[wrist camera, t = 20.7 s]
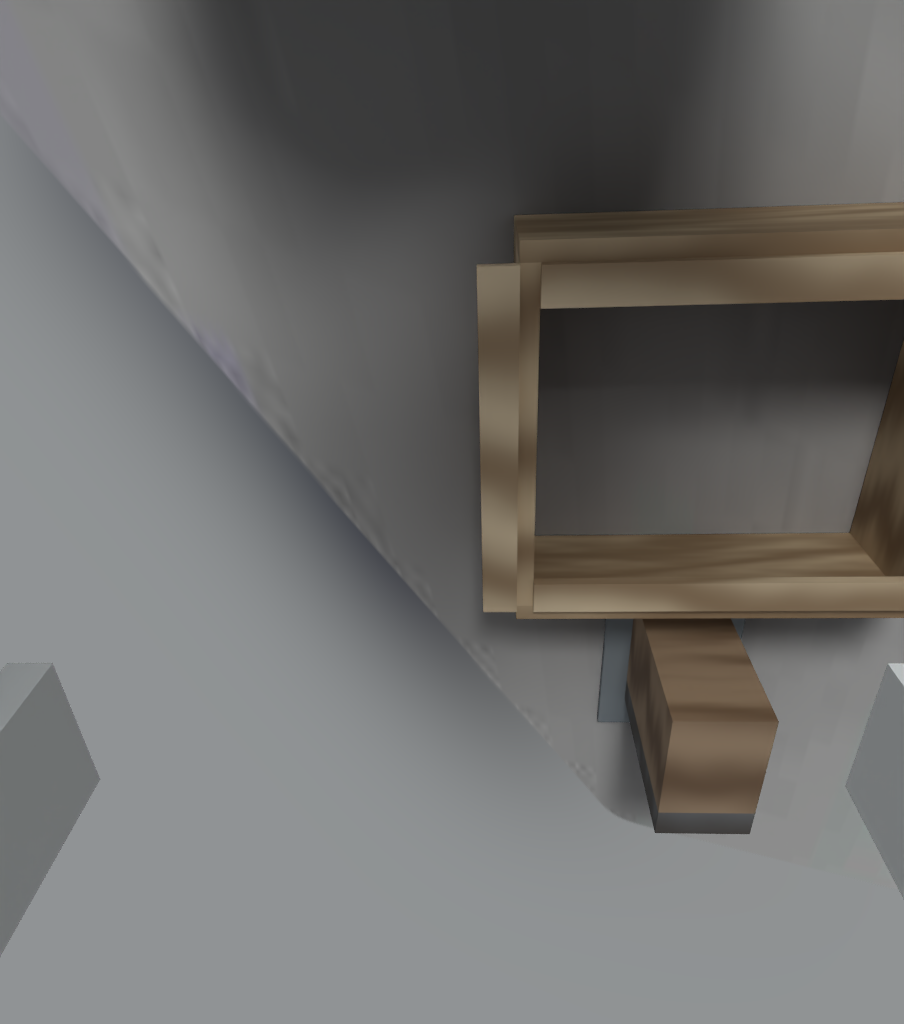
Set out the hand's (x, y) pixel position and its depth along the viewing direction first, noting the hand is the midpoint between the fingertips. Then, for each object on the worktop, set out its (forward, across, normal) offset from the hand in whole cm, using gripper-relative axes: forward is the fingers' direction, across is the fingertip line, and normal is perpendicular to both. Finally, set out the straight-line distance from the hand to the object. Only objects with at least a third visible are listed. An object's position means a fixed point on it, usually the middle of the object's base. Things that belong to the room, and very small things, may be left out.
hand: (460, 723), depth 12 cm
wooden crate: (+35, +14, -8) cm, 38 cm away
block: (+34, +14, -28) cm, 46 cm away
